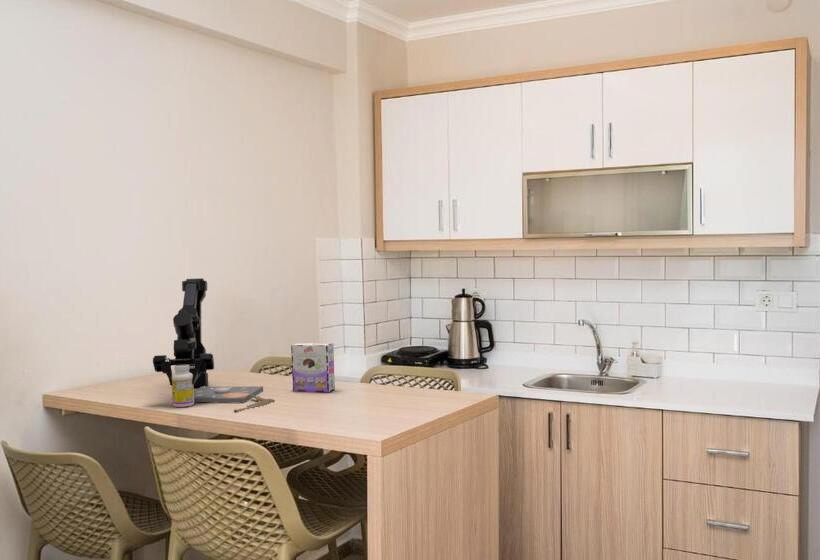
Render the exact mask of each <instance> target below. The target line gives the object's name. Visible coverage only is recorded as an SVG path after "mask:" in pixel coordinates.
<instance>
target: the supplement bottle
mask: <svg viewBox="0 0 820 560" xmlns="http://www.w3.org/2000/svg"><path fill="white" fill-rule="evenodd" d="M173 366H174V368H173V369H174V373H172V385H171V388H172V389H171V394H172V395H171V396H172V397H171V398H172V406H174V407H175V408H185V407H187V406H188V407H191V406H193V405H195V403H194V389H195V388H194V386H193V384H192V378H193V374H192V373H190V372H189V369H190V366H189V365H187V364H184V365H173Z"/></svg>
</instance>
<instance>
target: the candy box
mask: <svg viewBox="0 0 820 560" xmlns="http://www.w3.org/2000/svg"><path fill="white" fill-rule="evenodd" d="M290 349H291V352H290V353H291V371H292V392H297V393H298V392H299V393H300V392H301V393H305V392H306V393H330V392H333V391H335V390H336V384H335V383H336V381H335V380H336V379H335V355H334V352H335V351H334V343H331V342H328V343H327V342H323V343H322V342H297V343H293V344H291V345H290Z"/></svg>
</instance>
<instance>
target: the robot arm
mask: <svg viewBox="0 0 820 560" xmlns="http://www.w3.org/2000/svg"><path fill="white" fill-rule="evenodd" d="M181 290H182V292H184V296H183V302H182V308H180V309H179V310H178V312H177V314H175V315H174V317H173V318H172V321H173V322H172V323H173V327H174V329H175V330H174V331H175V334H176V336H177V337H176V339H174V340H173V356H174V358H169V357H167V355H166V354H162V355H157V354H156V355H154V356H153V358H152V364H153V365H152V366H153V368H154V371H155V372H156V373H162V374H164V375H166V376H167V379H168V382H169V385H170V386H172V375H173V370H172V366H176V365H184V364H187V365H189V366H190V369H189V372H190V373H192V374H193V378H192V384H193V386H194V387H204V386H205V387H207V386H209V385H208V384H209V373H208V372H207V371H211V370H214V369H215V359H214V354H213V353H211V352H210V353H208V352H207V350H206V348H205V346H204V344H203V342H202V303H203V301H204V300H205V298H206V295H207V293H206V292H207V291H208V282H207V280H205V279H204V278H186V279H185V280H183V281H181ZM206 385H207V386H206Z"/></svg>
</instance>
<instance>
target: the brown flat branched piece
mask: <svg viewBox="0 0 820 560" xmlns="http://www.w3.org/2000/svg"><path fill="white" fill-rule="evenodd" d="M250 396H251V397H253V398H254V399H255V400H257V402H254V403H251V404H248V405H246V407H243V408H238V409H236V408H234V409H233V412H234V413H239V411H240V412H243V411H246V410H245V409H247V410H251V409H250V408H252V409H256V408H255V407H258V408H261V407H260V406H262V407H265V406H267V404H268V405H270V404H272V403H271V402H273V403H275V402H276V400H275V399H274V398H273V399H271V398H263V397H261V396H259V395H258V396H257V395H256V396H254V395H250ZM253 398H252V399H253ZM274 401H275V402H274ZM269 403H270V404H269ZM264 405H265V406H264ZM242 410H243V411H242ZM235 411H236V412H235Z"/></svg>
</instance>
